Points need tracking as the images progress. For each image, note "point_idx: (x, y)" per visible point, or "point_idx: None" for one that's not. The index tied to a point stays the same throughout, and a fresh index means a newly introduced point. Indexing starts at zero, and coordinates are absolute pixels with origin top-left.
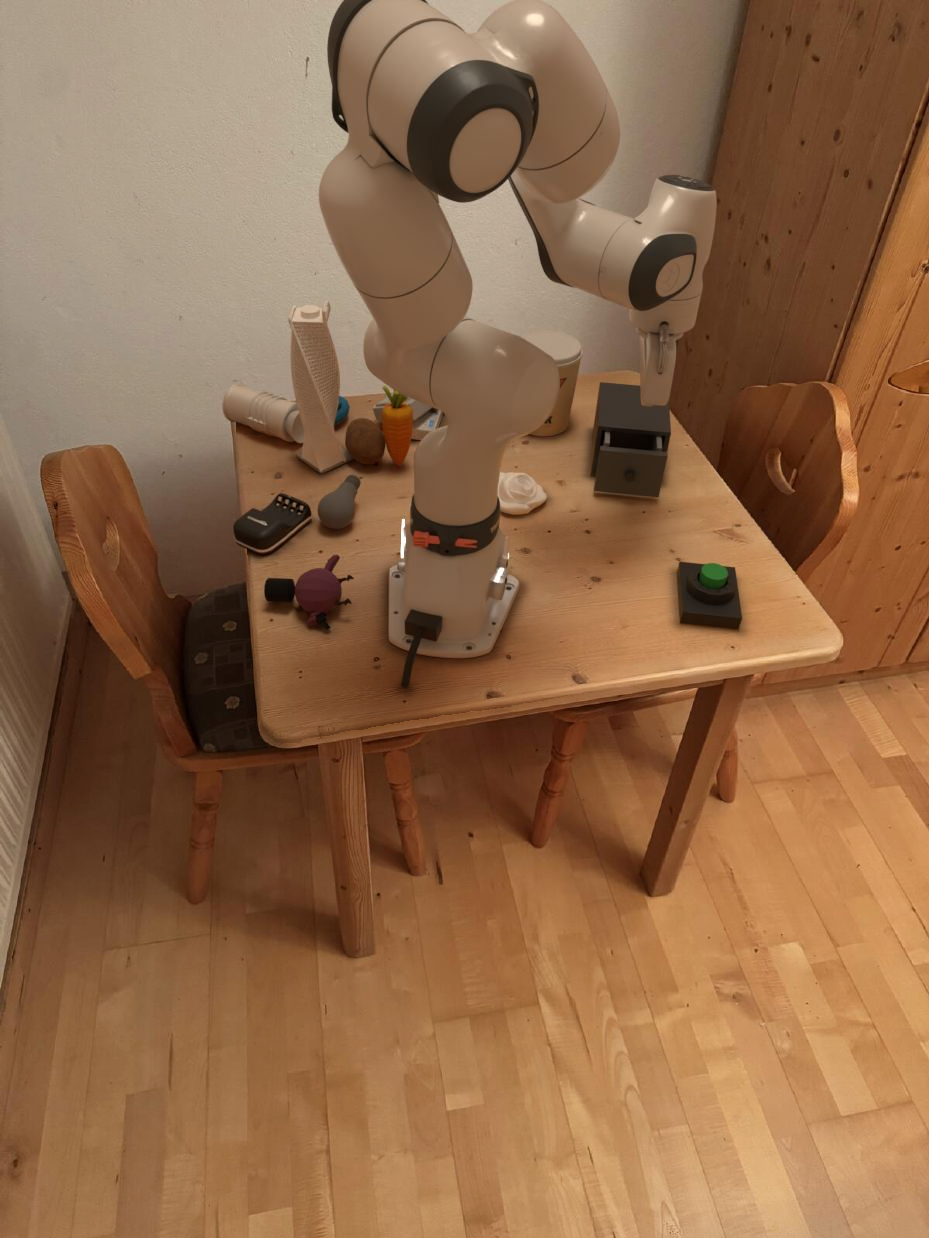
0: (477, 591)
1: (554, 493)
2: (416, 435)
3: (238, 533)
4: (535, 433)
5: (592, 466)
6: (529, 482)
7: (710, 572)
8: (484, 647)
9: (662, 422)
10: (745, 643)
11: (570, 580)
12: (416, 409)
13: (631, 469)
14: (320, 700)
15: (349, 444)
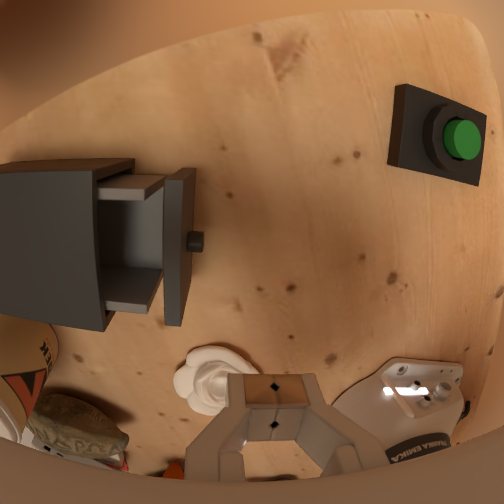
0: (459, 409)
1: (194, 331)
2: (121, 454)
3: None
4: (57, 348)
5: None
6: (211, 380)
7: (470, 147)
8: (461, 370)
9: (55, 190)
10: (488, 115)
11: (390, 307)
12: None
13: (186, 243)
14: (455, 432)
15: None
